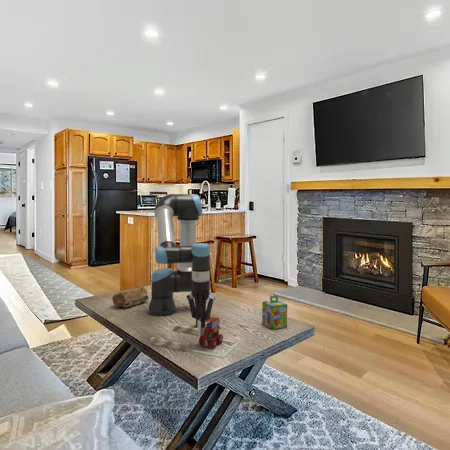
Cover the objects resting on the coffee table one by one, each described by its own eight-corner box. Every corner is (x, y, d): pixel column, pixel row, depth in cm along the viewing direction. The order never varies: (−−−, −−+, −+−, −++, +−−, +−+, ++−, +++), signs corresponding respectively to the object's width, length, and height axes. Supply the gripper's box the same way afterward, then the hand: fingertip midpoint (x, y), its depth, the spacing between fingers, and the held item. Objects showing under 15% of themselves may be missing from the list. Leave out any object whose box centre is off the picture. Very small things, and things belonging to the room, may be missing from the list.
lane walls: (150, 344, 154) (150, 338, 153) (175, 329, 171) (175, 324, 171) (186, 351, 146) (186, 345, 146) (208, 335, 163) (208, 330, 163)
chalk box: (272, 330, 170) (272, 299, 169) (261, 324, 178) (261, 295, 177) (287, 327, 174) (288, 297, 173) (276, 321, 182) (277, 292, 181)
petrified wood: (127, 310, 199) (123, 292, 199) (110, 311, 205) (107, 294, 205) (150, 300, 216) (146, 284, 216) (134, 302, 222) (131, 286, 222)
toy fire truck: (196, 348, 150) (196, 323, 149) (211, 338, 160) (211, 315, 160) (210, 351, 146) (210, 326, 145) (224, 341, 157) (225, 317, 156)
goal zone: (192, 351, 146) (192, 351, 146) (211, 337, 161) (211, 337, 161) (223, 358, 140) (223, 357, 140) (240, 342, 155) (240, 342, 155)
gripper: (182, 280, 151) (182, 335, 153) (210, 283, 146) (209, 340, 147) (192, 277, 158) (192, 329, 160) (218, 280, 152) (218, 334, 154)
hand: (200, 334), depth 153 cm, fingers closed
